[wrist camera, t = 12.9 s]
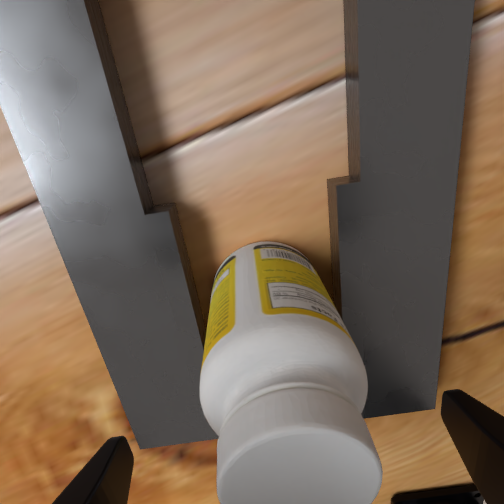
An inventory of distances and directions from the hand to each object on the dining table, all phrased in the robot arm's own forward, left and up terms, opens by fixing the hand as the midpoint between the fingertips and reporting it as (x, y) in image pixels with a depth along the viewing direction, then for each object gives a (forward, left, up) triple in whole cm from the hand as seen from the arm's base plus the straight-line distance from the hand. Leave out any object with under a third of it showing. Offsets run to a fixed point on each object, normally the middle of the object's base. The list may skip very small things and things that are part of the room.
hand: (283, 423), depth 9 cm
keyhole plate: (0, -3, -8) cm, 9 cm away
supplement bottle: (0, 0, -8) cm, 8 cm away
